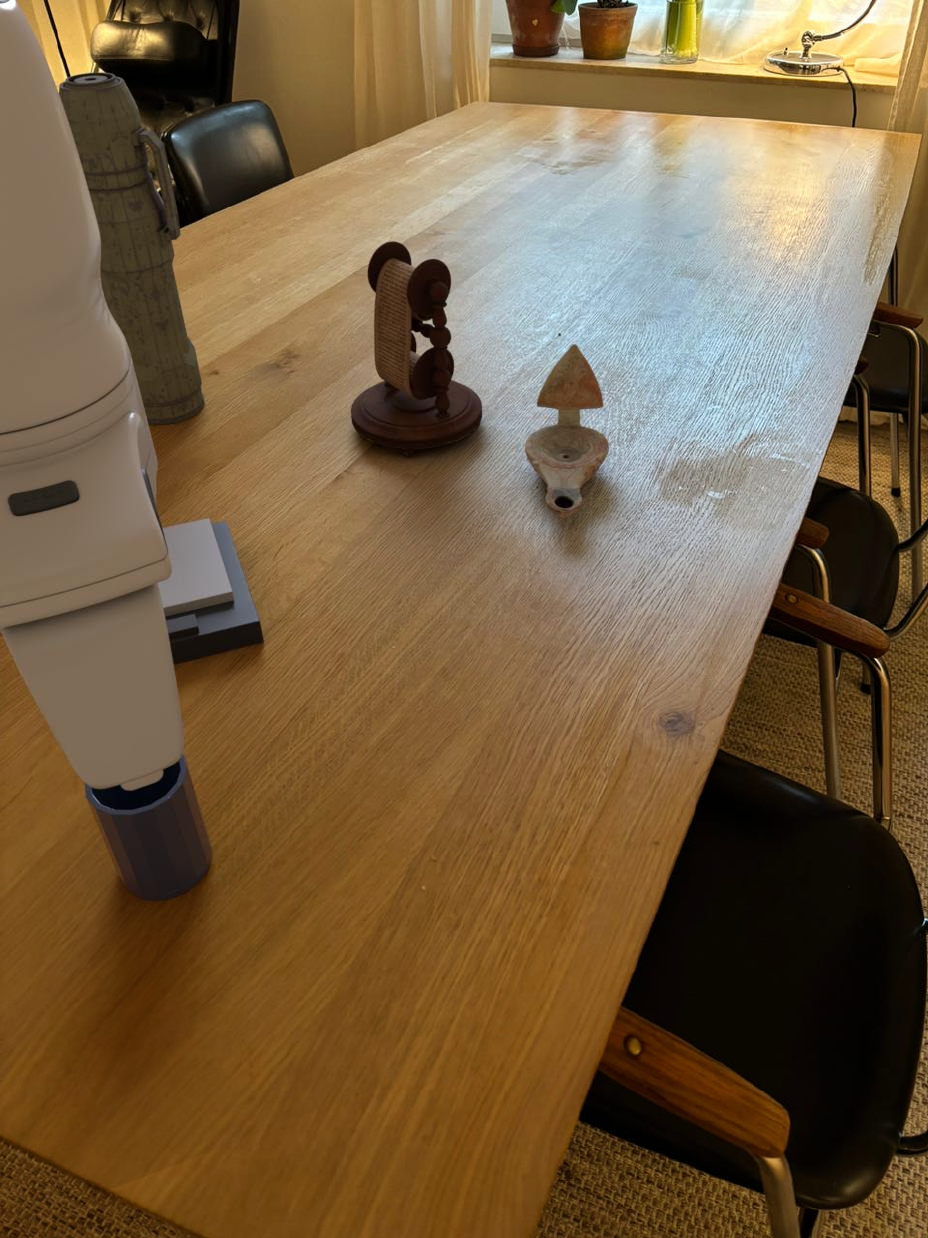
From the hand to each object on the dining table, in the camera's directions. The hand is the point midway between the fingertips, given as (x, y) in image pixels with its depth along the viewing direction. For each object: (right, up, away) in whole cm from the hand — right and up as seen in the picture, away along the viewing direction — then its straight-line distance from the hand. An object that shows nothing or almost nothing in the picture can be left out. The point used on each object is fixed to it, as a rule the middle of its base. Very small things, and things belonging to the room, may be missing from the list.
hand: (119, 706), depth 46 cm
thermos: (-19, +29, +72) cm, 80 cm away
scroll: (+11, +26, +67) cm, 72 cm away
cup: (-4, -13, +22) cm, 25 cm away
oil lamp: (+27, +19, +58) cm, 67 cm away
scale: (-11, +5, +43) cm, 44 cm away
